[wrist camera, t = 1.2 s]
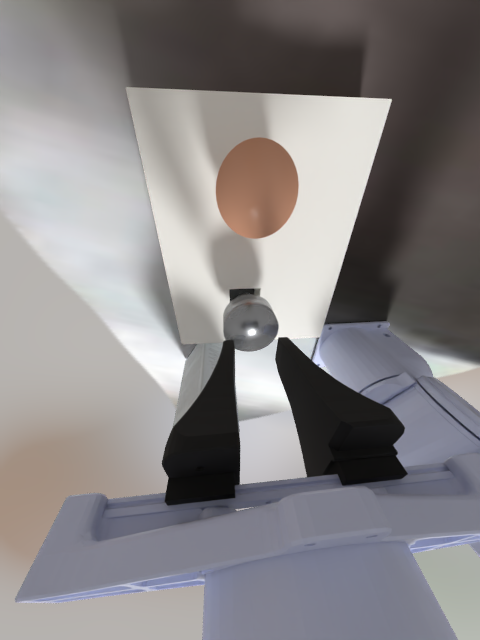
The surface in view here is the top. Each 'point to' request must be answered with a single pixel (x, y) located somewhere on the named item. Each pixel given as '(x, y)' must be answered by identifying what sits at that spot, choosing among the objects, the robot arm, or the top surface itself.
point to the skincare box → (197, 375)
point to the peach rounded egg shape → (257, 188)
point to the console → (207, 223)
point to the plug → (249, 322)
